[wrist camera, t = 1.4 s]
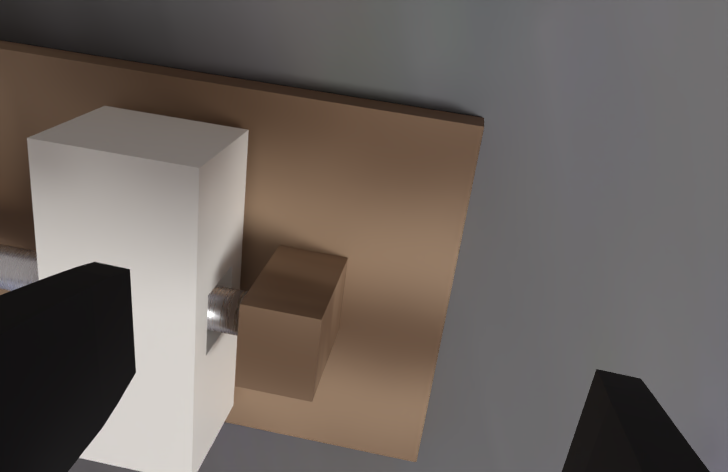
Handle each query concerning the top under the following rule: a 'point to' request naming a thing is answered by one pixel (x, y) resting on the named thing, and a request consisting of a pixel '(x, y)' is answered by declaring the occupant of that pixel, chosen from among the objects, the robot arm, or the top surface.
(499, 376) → the top surface
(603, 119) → the top surface
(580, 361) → the top surface
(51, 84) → the guide board
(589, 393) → the robot arm
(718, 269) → the top surface
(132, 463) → the sleeve
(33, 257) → the guide rod
